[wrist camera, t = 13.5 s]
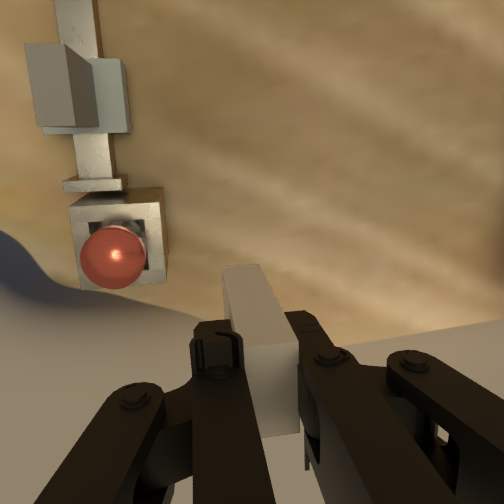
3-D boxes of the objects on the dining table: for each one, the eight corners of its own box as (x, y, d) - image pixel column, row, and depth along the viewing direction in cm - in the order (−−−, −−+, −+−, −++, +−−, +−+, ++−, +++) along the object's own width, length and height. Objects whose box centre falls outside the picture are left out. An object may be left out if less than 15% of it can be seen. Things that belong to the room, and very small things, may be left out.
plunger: (148, 209, 38) (141, 227, 30) (153, 258, 39) (147, 286, 32) (95, 212, 37) (75, 231, 30) (101, 262, 38) (84, 291, 31)
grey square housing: (163, 186, 43) (159, 202, 34) (168, 251, 45) (166, 283, 36) (88, 190, 42) (63, 207, 33) (97, 256, 44) (75, 290, 35)
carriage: (126, 66, 39) (100, 34, 27) (132, 132, 41) (112, 132, 28) (47, 66, 38) (-18, 33, 26) (57, 134, 40) (1, 135, 27)
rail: (93, -140, 35) (80, -182, 30) (127, 183, 43) (121, 190, 38) (29, -144, 34) (6, -188, 30) (76, 185, 42) (63, 192, 37)
